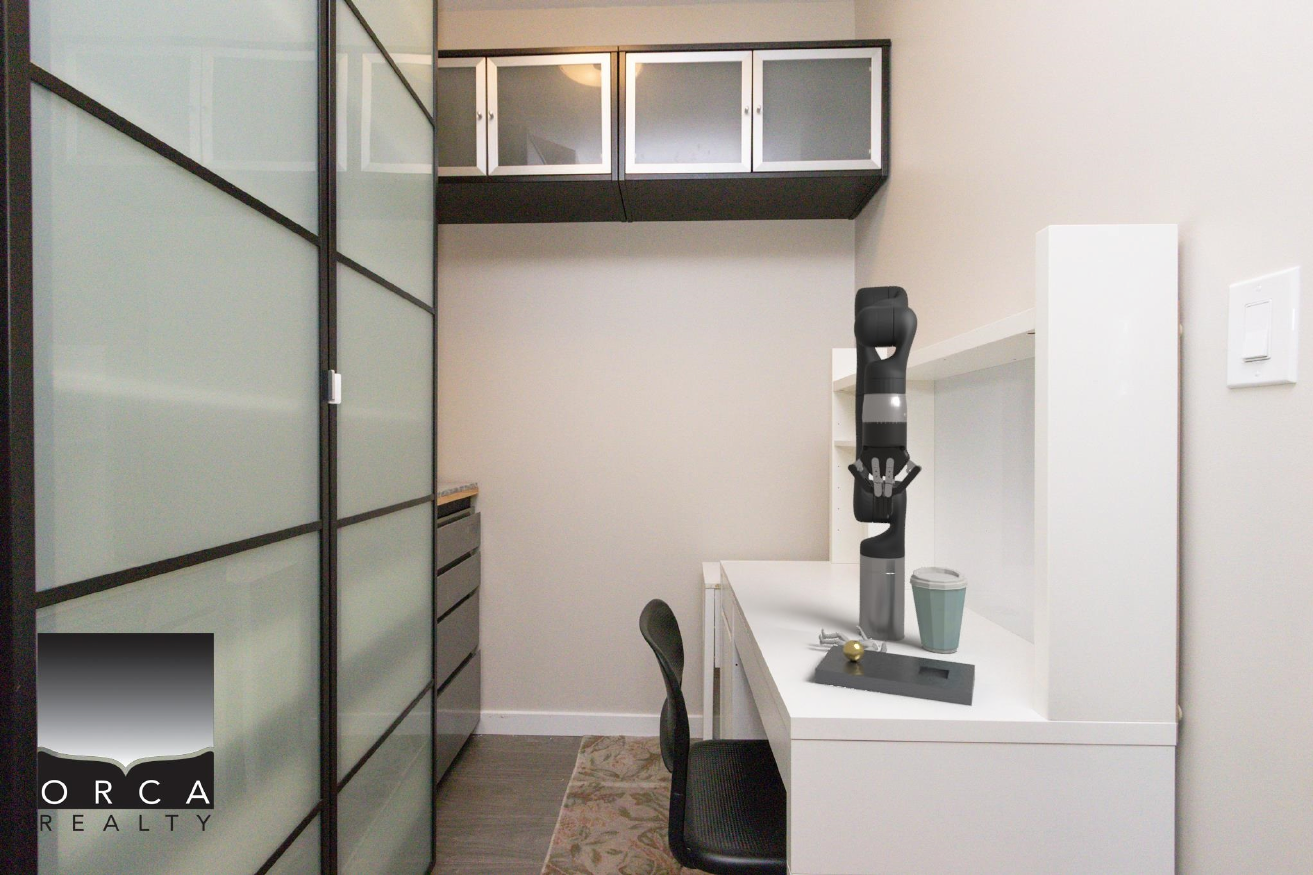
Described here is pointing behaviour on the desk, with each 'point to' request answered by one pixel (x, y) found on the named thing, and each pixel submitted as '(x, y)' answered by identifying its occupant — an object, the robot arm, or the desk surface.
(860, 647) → the brass knob
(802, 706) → the desk surface
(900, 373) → the robot arm
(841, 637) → the soldier figure
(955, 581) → the disposable coffee cup
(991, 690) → the desk surface
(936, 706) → the desk surface
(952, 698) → the bore plate
